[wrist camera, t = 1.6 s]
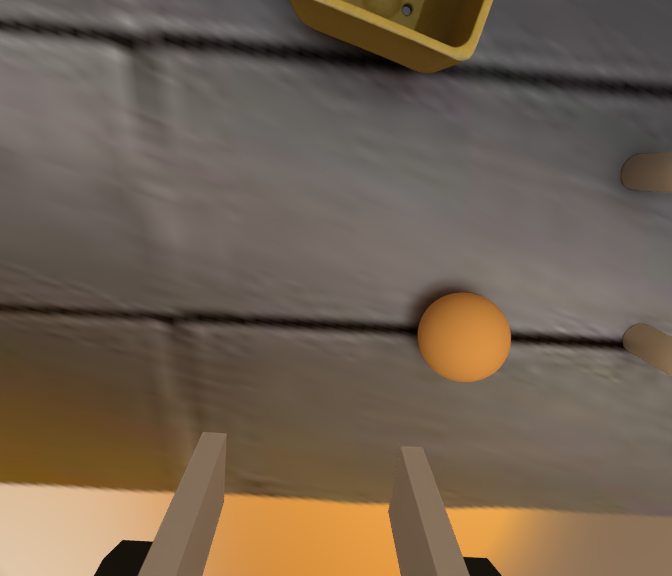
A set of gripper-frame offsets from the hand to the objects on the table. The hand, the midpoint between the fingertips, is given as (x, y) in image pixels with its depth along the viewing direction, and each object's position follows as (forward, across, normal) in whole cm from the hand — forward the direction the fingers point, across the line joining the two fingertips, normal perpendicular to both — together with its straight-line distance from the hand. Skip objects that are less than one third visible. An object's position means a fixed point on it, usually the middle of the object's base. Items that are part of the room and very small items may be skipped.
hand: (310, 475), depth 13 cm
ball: (+14, +10, 0) cm, 17 cm away
